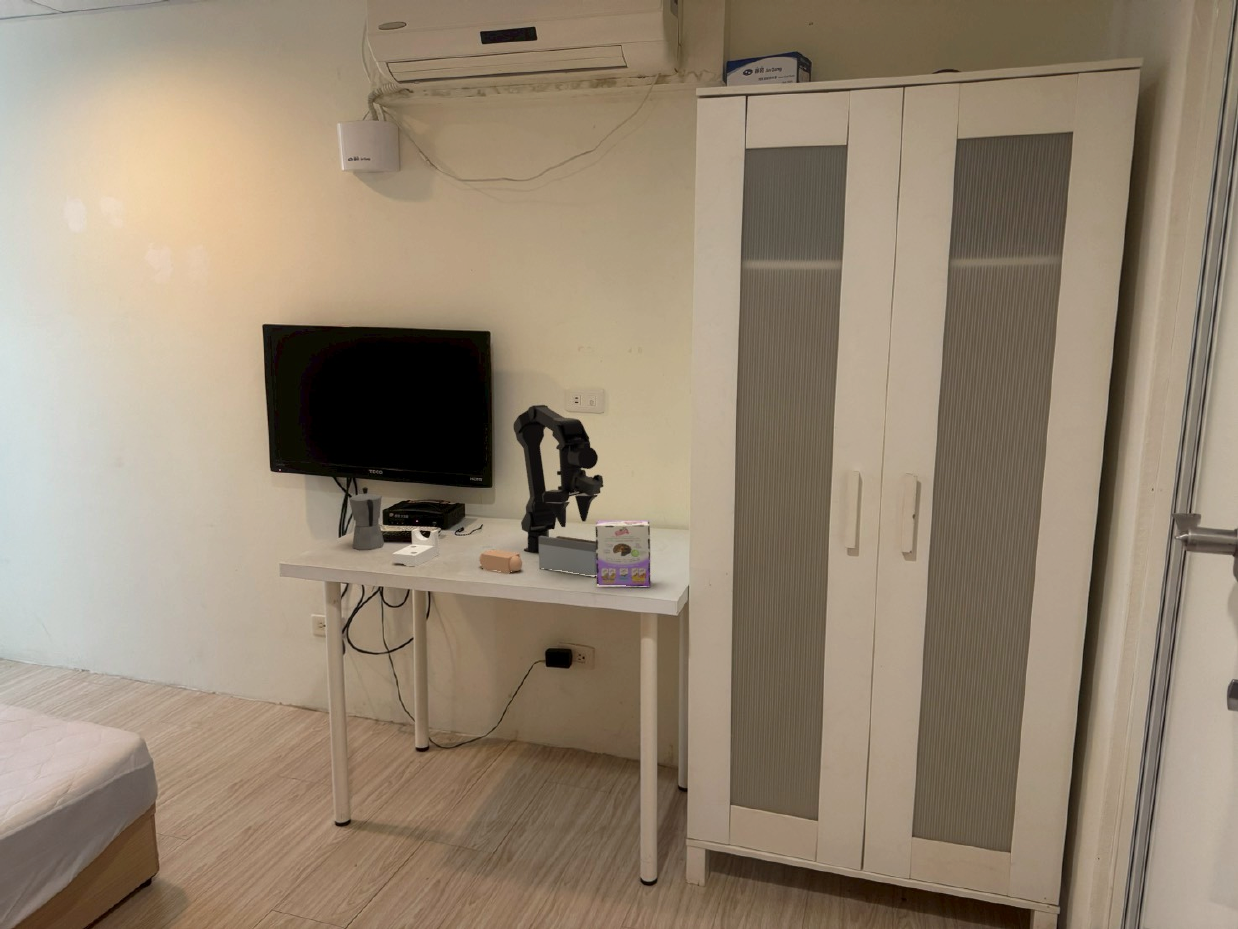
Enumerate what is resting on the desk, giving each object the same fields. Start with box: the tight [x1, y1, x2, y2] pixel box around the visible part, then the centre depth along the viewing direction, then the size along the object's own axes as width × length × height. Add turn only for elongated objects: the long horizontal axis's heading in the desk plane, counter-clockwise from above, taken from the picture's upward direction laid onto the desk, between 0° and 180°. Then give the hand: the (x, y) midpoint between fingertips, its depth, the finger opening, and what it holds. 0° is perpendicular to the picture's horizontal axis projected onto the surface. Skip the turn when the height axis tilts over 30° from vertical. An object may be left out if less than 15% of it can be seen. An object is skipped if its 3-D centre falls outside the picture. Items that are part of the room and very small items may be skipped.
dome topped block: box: [478, 549, 523, 574], centre depth 239 cm, size 5×13×4 cm, turn 61°
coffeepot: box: [349, 486, 385, 551], centre depth 261 cm, size 15×9×18 cm, turn 26°
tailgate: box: [538, 536, 597, 575], centre depth 234 cm, size 1×18×9 cm, turn 61°
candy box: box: [594, 519, 651, 587], centre depth 224 cm, size 14×6×16 cm, turn 88°
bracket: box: [392, 528, 440, 566], centre depth 249 cm, size 13×7×8 cm, turn 162°
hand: (573, 524), depth 237 cm, fingers open, 9 cm apart
